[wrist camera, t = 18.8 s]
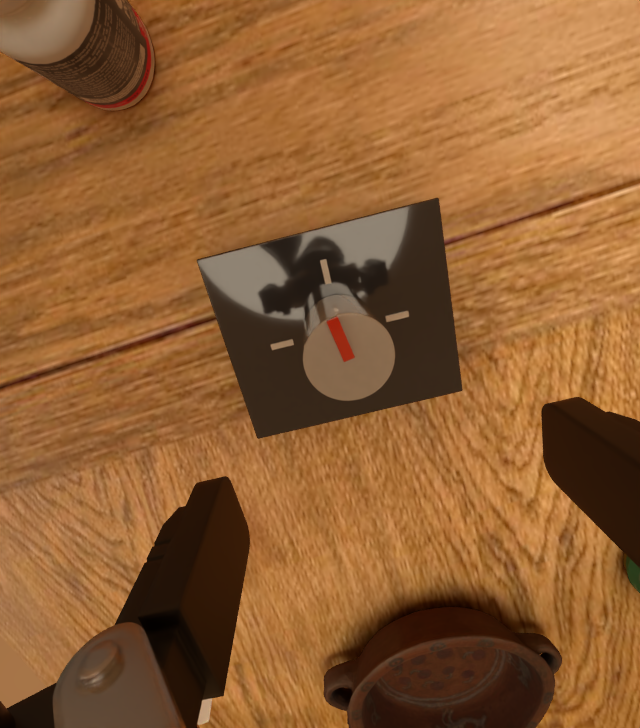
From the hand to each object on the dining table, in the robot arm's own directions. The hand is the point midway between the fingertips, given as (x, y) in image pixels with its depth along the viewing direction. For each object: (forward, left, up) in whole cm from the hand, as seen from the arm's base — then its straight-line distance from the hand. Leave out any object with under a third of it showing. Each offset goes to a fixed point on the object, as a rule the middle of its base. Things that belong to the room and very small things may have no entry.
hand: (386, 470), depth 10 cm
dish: (+2, -35, -18) cm, 39 cm away
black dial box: (0, 0, -17) cm, 17 cm away
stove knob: (0, 0, -14) cm, 14 cm away
